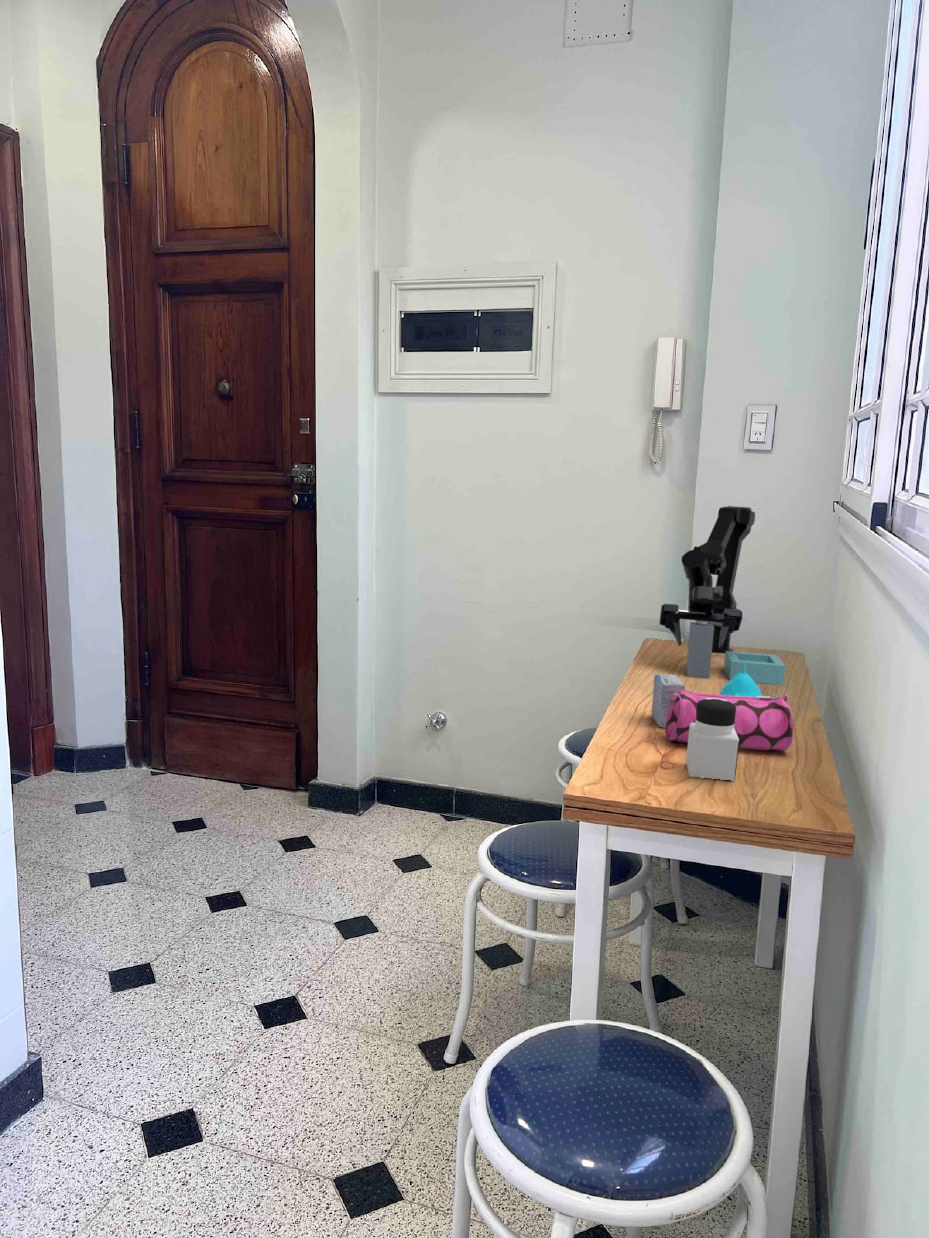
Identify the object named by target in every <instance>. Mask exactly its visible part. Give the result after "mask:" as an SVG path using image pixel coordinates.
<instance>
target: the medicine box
mask: <svg viewBox="0 0 929 1238" xmlns="http://www.w3.org/2000/svg"><path fill="white" fill-rule="evenodd" d="M652 689H653V690H652V701H651V702H652V703H651V717H652V719H653V720H654V721H655V723H656V722H657V723H656V724H657V725H658V727H659V728H660V727H662V728H663V729H665V727H666V721H667V714H668V710H669V705H670V700H671V697H672V695H673V693H676V692H679V691H680V690H686V684H684V682H683V681H682V680H681V679H680V677H678V675H676V674H667V673H666V674H665V673H662V674H654V679H653V688H652ZM662 728H661V729H662Z"/></svg>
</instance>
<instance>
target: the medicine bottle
mask: <svg viewBox="0 0 929 1238" xmlns="http://www.w3.org/2000/svg"><path fill="white" fill-rule="evenodd" d="M735 714H736V707H735V705H734V704H733V703H731V702H729V701H727V700H723V699H717V698H706V699H703V700H700V701H699V702H698V703H697V710H696V721H695V723H690V726H689V737H688V743H687V748H686V749H687V750H686V757H685V758H686V759H685V760H686V761H685V763H686V766H687V772H688V776H689V777H690V778H693V777H704V778H714V779H720V780H719V781H723V780H731V781H730V782H735V780H736V776H737V765H738V756H739V750H740V748H739V738H738V736H737V733H736V731H735V729H734V724H735Z"/></svg>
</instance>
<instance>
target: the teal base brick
mask: <svg viewBox="0 0 929 1238" xmlns="http://www.w3.org/2000/svg"><path fill="white" fill-rule="evenodd" d="M724 653H725V654H724V666H723V671H724V672H725V671H726V672H725V674H726V676H727V678H728V680H729V681H730V680H732V679H733V678H734V677H735V676H736V675H737V674H739V673H742V672H743V669H744V665H745V666H746V674H748V675H749V676H750V677H751V678H752V679H753V681H754V682H756V684H768V685H778V686H779V685H780V686H781V685H782V686H784V684H785V683H784V682H785V675H786V674H785V673H786V664H785V663H784V662H783V661H782V659H781V658H780V657H779V656H778V654H769V653H757V652H756V653H755V652H743V651H734V650H733V651H726V652H724Z"/></svg>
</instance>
